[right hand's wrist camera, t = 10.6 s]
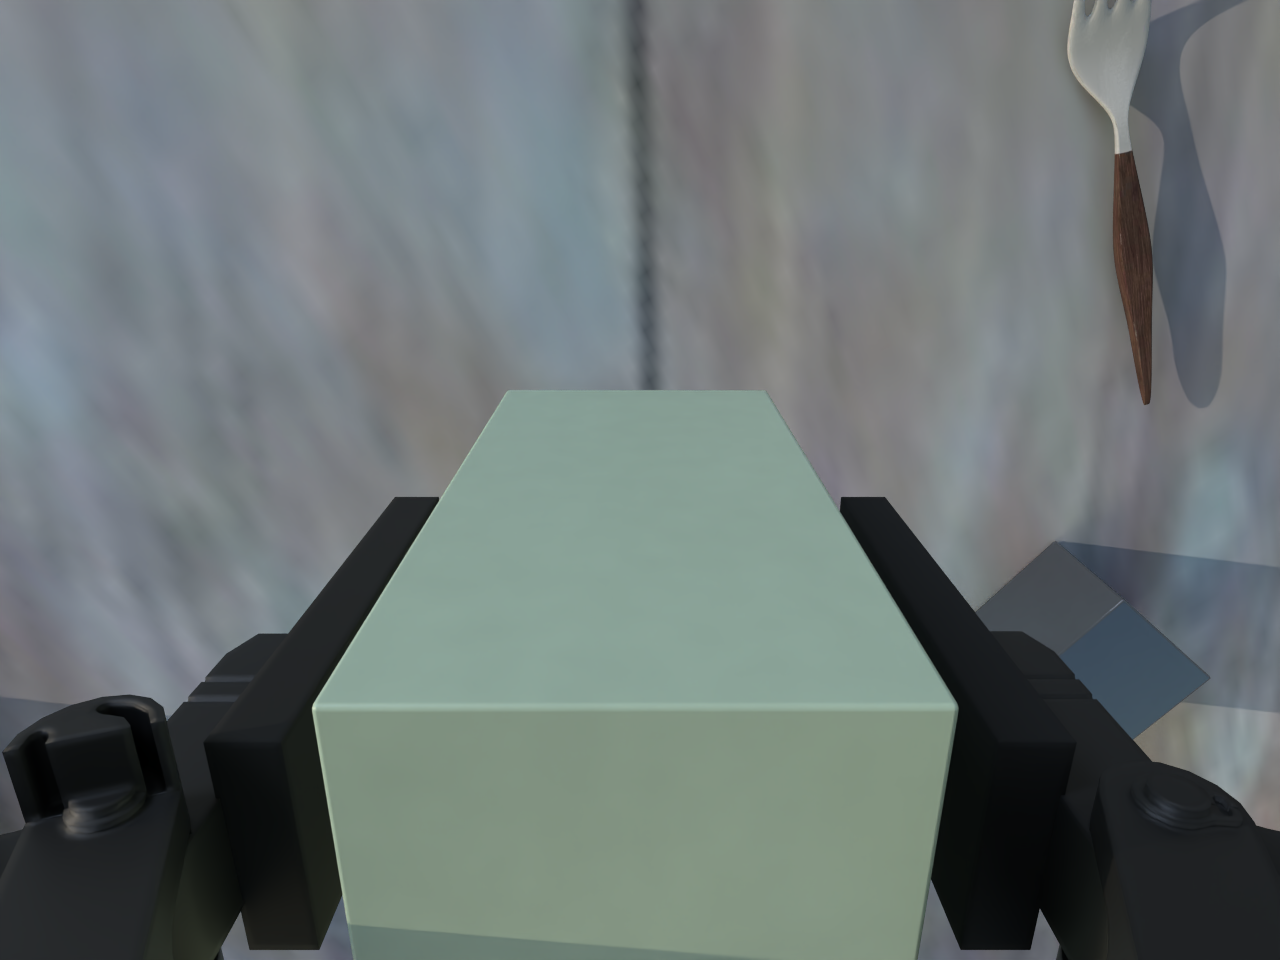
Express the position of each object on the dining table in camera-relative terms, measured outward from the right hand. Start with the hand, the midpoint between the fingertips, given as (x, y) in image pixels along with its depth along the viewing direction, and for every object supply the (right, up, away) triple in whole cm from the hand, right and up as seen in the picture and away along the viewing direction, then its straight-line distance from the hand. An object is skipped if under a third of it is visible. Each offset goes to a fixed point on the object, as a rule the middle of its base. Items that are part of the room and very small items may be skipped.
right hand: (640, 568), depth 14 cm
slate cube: (+17, -4, +20) cm, 26 cm away
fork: (+17, +12, +14) cm, 25 cm away
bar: (0, -8, +4) cm, 9 cm away
